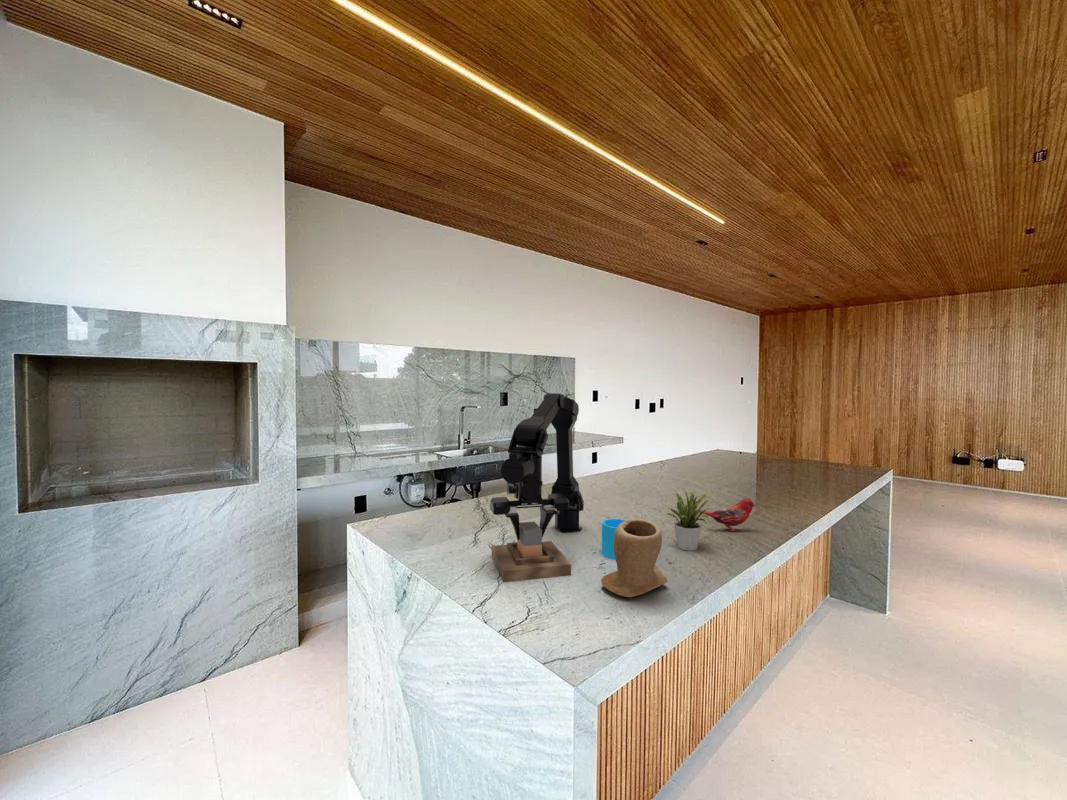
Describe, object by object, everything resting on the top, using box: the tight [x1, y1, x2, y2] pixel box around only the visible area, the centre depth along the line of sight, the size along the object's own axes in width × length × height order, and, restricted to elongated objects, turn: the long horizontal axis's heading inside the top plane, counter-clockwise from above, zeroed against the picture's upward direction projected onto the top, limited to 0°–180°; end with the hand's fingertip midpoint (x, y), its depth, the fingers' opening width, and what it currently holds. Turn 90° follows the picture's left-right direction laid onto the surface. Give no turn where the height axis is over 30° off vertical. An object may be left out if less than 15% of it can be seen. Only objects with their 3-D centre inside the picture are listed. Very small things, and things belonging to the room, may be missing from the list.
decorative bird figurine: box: [699, 498, 756, 532], centre depth 140 cm, size 3×18×10 cm, turn 89°
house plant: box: [664, 487, 716, 552], centre depth 125 cm, size 14×14×16 cm
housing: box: [516, 521, 543, 558], centre depth 113 cm, size 7×4×7 cm, turn 15°
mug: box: [601, 518, 627, 561], centre depth 122 cm, size 12×8×8 cm
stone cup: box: [600, 518, 669, 598], centre depth 101 cm, size 15×12×15 cm
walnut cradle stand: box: [491, 540, 572, 583], centre depth 113 cm, size 16×16×4 cm
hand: (529, 538), depth 113 cm, fingers open, 5 cm apart
